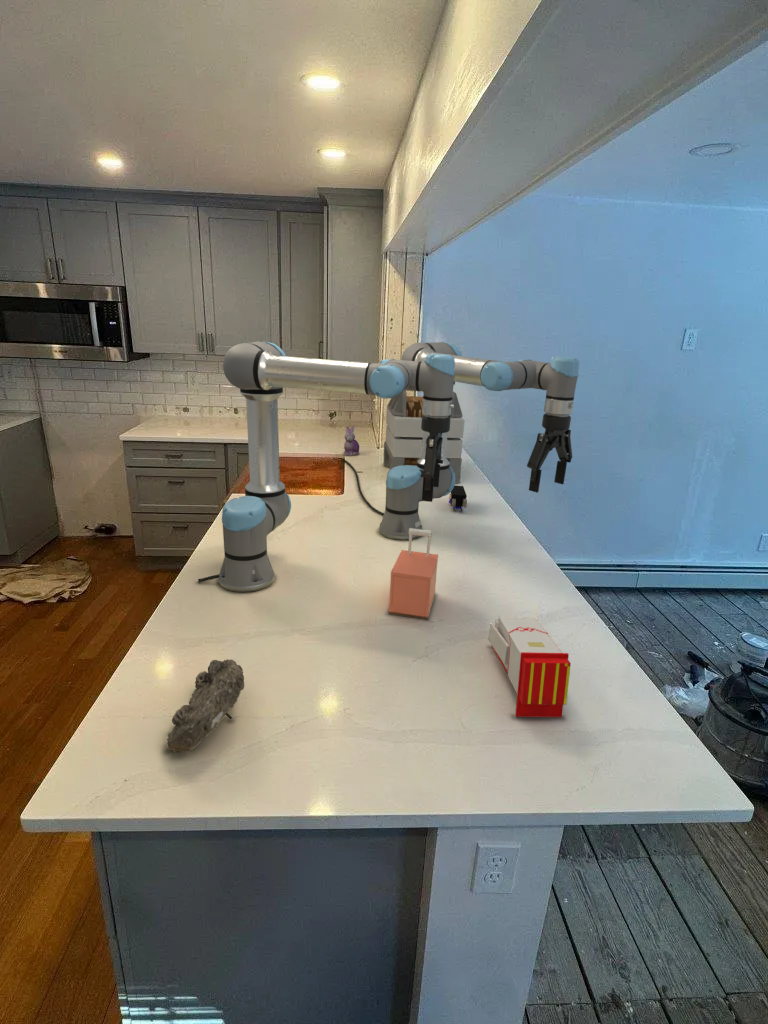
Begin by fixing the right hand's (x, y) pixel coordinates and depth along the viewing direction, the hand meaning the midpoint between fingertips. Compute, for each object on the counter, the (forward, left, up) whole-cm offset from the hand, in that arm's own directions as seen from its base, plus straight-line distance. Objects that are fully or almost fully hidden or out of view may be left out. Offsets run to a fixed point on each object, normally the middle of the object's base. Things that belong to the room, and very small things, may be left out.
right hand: (546, 487), depth 165 cm
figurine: (-148, +43, -28) cm, 156 cm away
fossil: (+1, -105, -28) cm, 109 cm away
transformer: (-100, +48, -28) cm, 115 cm away
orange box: (-8, -43, -16) cm, 47 cm away
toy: (+29, -46, -28) cm, 62 cm away
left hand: (-15, -33, 0) cm, 36 cm away
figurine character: (-56, +26, -28) cm, 67 cm away
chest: (-8, -44, -28) cm, 52 cm away
